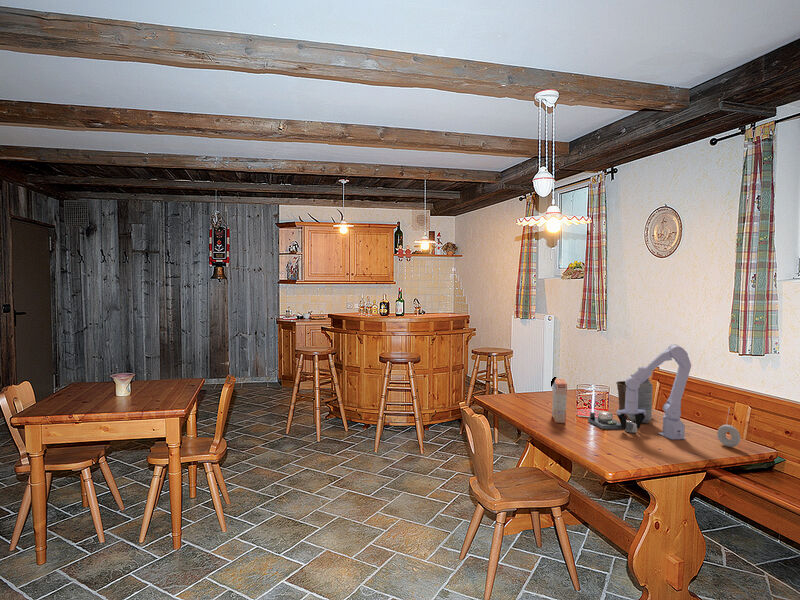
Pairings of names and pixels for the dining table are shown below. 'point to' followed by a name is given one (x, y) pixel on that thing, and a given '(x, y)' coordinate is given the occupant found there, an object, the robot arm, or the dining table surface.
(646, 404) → the vase
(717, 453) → the dining table surface
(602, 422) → the levelling base
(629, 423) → the wing knob
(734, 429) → the donut
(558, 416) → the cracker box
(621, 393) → the plant pot
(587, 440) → the dining table surface
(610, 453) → the dining table surface
